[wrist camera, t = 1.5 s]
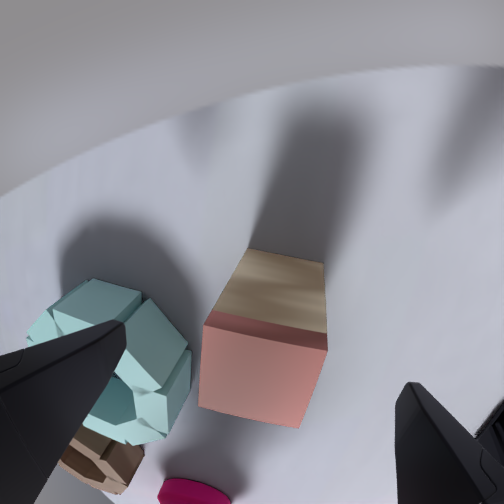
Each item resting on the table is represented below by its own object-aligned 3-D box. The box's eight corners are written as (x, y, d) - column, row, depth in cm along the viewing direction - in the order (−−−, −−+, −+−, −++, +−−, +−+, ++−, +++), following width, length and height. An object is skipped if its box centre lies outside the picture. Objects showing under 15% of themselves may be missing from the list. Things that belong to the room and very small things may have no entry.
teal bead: (194, 305, 15) (165, 348, 12) (189, 419, 18) (170, 461, 15) (56, 267, 16) (15, 292, 13) (76, 377, 19) (49, 408, 16)
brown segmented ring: (109, 400, 19) (84, 434, 16) (158, 471, 22) (144, 502, 18) (39, 390, 21) (16, 414, 18) (87, 455, 24) (71, 479, 21)
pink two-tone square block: (323, 263, 13) (327, 350, 8) (306, 327, 14) (298, 428, 9) (247, 248, 14) (203, 324, 8) (238, 313, 15) (198, 406, 9)
